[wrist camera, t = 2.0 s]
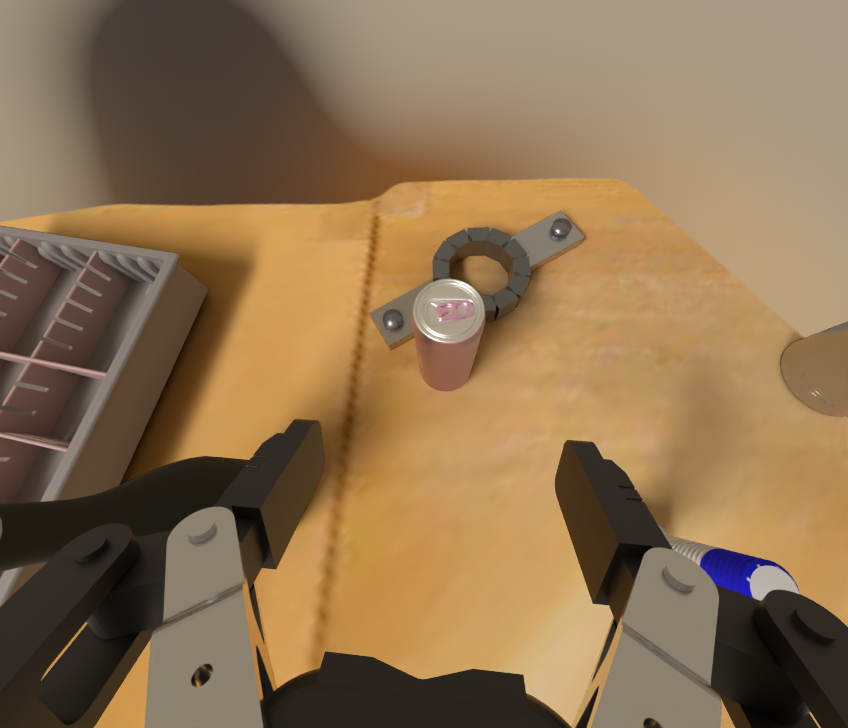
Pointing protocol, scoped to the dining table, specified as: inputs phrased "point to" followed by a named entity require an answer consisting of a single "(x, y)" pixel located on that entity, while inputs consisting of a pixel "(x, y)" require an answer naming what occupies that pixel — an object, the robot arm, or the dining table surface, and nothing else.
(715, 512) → the dining table surface
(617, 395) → the dining table surface
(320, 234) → the dining table surface
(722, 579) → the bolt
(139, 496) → the wine bottle
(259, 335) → the dining table surface
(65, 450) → the organizer tray
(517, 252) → the pipe clamp bracket
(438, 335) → the beverage can
